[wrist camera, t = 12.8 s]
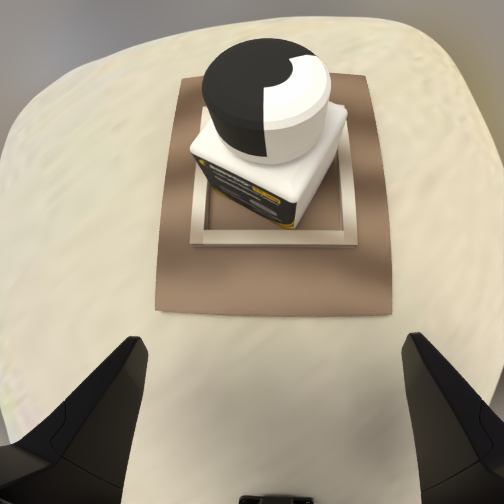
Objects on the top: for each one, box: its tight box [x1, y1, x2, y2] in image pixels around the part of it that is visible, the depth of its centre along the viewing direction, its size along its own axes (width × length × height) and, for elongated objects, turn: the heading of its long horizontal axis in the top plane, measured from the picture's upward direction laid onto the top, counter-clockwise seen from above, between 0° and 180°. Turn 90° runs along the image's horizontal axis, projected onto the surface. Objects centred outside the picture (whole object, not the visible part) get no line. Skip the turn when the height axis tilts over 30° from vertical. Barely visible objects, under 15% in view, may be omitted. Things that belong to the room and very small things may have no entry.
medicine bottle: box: [190, 38, 348, 230], centre depth 18 cm, size 7×7×12 cm
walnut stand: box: [155, 73, 392, 316], centre depth 23 cm, size 22×18×2 cm
